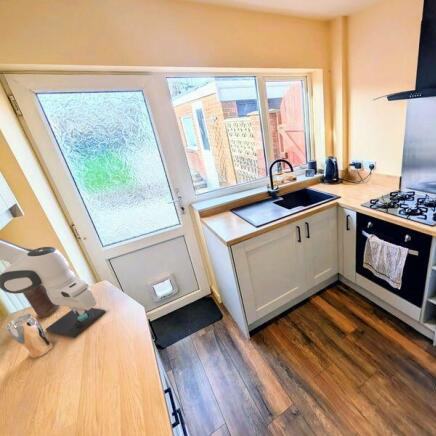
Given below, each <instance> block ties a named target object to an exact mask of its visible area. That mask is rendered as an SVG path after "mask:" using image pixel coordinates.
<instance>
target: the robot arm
mask: <svg viewBox="0 0 436 436" xmlns="http://www.w3.org/2000/svg"><path fill="white" fill-rule="evenodd" d="M0 260H2V261H4V262H8V263H9V264H10V265H9V266H7V267H6V268H5V269H4V270H3V271H2V272H1V273H0V289H1V290H2V291H3V292H5V293H8V294H15V295H16V294H23V293H24V292H26V291H29V290H32V289H34V288H36V287H38V286H40V285H43V286H44V287H45V289H46V290H47V291H46V293H47V295H48V297H49V299H50V300H51V302H52V303H53V304H55V305H59V307H60V306H61V307H66V308H69V309H70V311H71V310H73V311H74V313H75V314H79V315H82V314H83V313H85V311H84V310H89V309H91V308H94V307H95V306H96V305H97V300H96V297H95V296H94V294H93V292H92V291H91V289H89V287H90V285H89V283H88V282H87V281H84V280H82V279H80V278H79V277H78V276H76V274H75V273H74V271H73V270H71V269H70V265H69V262H68V261H67V259H66V258H65V256H64V254H62V253H61V251H60V250H59V249H58V248H56V247H53V246H43V247H42V246H41V247H37V248H35V249H32V248H28V247H24V246H21V245H18V244H16V243H13V242H10V241H8V240H5V239H2V238H0Z"/></svg>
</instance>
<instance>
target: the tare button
mask: <svg viewBox="0 0 436 436" xmlns="http://www.w3.org/2000/svg"><path fill="white" fill-rule="evenodd" d="M87 318H88V315H87V314H86V313H84V314H82V315H80V316H79V317H78V320H79V322H82V321H84V320H86V319H87Z"/></svg>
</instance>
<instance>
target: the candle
mask: <svg viewBox="0 0 436 436" xmlns="http://www.w3.org/2000/svg"><path fill="white" fill-rule="evenodd" d="M46 291H47V290H46V289H45V287H44V286H43V285H40V286H38V287H36V288H34V289H32V290H29V291H26V292H24V293H22V294H23V295H24V297H25V298H26V300H27V301H28V303H29V304H30V306H31V308H32V309H33V311H34V312H35V314H36V316H37V317H38V318H42V317H47V316H49V315H50V314H52V313H54V312H56V311H57V310H58V309H59V307H60V305H55V304H53V303H52V302H51V300H50V299H49V297H48V295H47V293H46Z"/></svg>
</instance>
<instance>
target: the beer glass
mask: <svg viewBox="0 0 436 436" xmlns="http://www.w3.org/2000/svg"><path fill="white" fill-rule="evenodd" d="M5 329H6V330H7V331H8V333H9V335H10V336H11V338H13V339H14V340H15V341H16V342H17V343H18V344H20V345H21V346H22V347H24V348H25V349H26V350H27V351H28V353H29V356H30V357H31V359H32V358H33V359H36V358H39V357H41V356H44V355H45V354H47V353H48V352H50V350H51V349H52V348H53V346H54V344H53V342H52V341H50V340H49V339H48V338H47V336H46V333H45V332H44V329H43V326H42V325H41V323H40V321H39V320H38V319H37V318H36V317H35V316H34V315H33V314H32V313H29V312H28V313H24V314H21V315H19V316H16V317H15V318H13V319H11V320H10V321H8V323H7V324H6V326H5Z"/></svg>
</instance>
